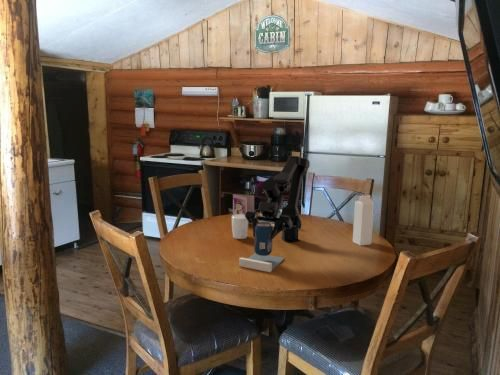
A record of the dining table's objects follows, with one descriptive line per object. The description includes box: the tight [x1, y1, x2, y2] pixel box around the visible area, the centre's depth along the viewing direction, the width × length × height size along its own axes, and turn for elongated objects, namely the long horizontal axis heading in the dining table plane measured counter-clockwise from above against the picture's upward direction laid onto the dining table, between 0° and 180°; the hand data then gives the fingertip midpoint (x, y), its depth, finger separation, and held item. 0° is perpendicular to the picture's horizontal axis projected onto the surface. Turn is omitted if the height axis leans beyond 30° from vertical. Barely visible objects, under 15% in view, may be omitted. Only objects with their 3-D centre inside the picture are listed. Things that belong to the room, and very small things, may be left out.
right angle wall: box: [259, 208, 282, 229], centre depth 212 cm, size 12×12×8 cm
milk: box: [352, 194, 375, 246], centre depth 186 cm, size 6×6×22 cm
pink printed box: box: [232, 193, 255, 225], centre depth 216 cm, size 11×7×15 cm, turn 40°
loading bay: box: [238, 252, 285, 273], centre depth 163 cm, size 15×13×3 cm
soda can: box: [253, 221, 274, 256], centre depth 162 cm, size 7×7×12 cm
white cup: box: [231, 214, 249, 240], centre depth 194 cm, size 8×8×10 cm
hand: (262, 238), depth 161 cm, fingers closed on soda can, 7 cm apart
